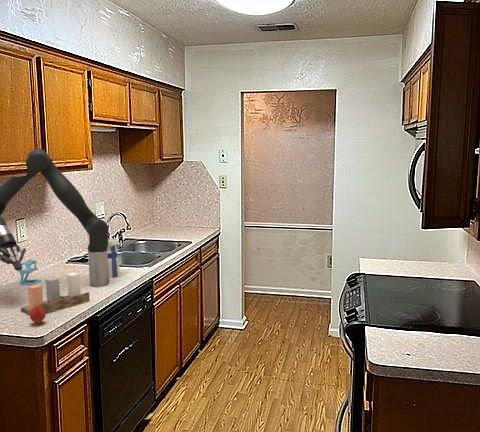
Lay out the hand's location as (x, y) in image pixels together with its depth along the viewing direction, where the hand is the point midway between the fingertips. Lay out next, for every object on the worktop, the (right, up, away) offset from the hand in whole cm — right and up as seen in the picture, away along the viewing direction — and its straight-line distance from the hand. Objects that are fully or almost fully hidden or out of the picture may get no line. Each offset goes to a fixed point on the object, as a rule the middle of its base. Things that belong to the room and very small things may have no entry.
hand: (19, 269), depth 212 cm
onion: (+15, -20, -17) cm, 30 cm away
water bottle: (+27, -9, +49) cm, 57 cm away
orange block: (+10, -16, -6) cm, 20 cm away
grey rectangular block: (+13, -14, +4) cm, 20 cm away
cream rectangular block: (+20, -13, +12) cm, 26 cm away
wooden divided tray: (+15, -16, +3) cm, 22 cm away
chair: (-12, -11, +37) cm, 40 cm away
